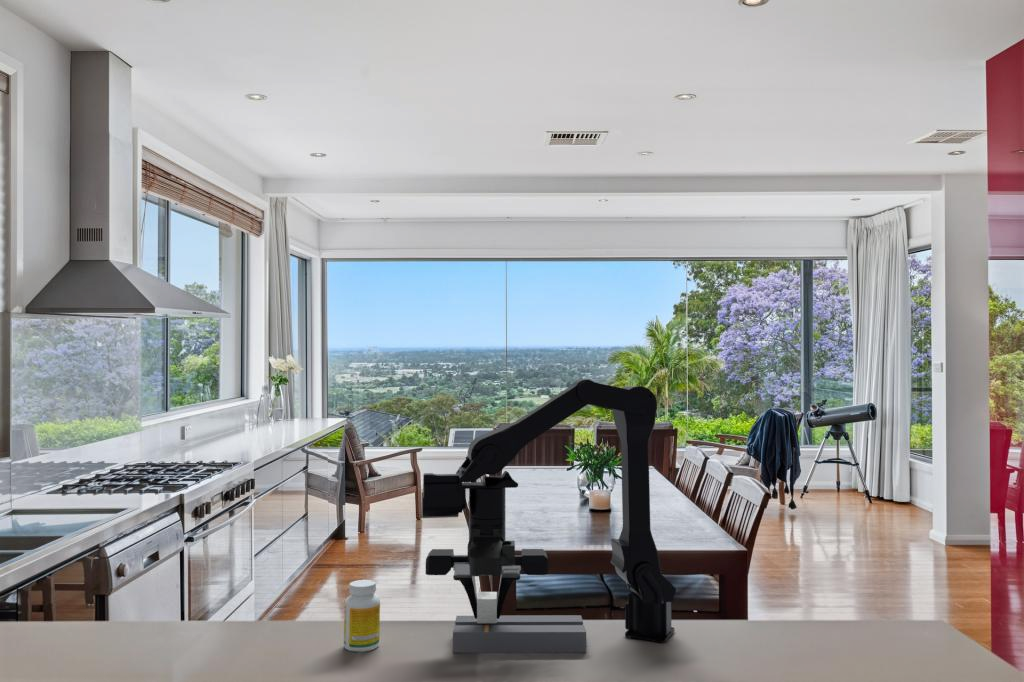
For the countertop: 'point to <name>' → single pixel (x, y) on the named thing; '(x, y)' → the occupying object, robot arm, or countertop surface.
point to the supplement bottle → (362, 617)
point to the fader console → (520, 634)
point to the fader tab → (487, 608)
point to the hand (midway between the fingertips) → (487, 617)
